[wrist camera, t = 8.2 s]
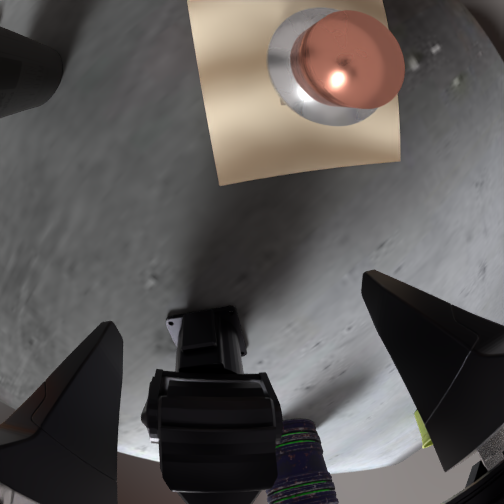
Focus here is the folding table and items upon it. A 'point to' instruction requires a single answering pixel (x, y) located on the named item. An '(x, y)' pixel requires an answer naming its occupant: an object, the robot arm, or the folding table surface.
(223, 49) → the stand
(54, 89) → the drinking cup
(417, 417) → the plant pot
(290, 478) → the storage jar
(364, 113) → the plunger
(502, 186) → the folding table surface
